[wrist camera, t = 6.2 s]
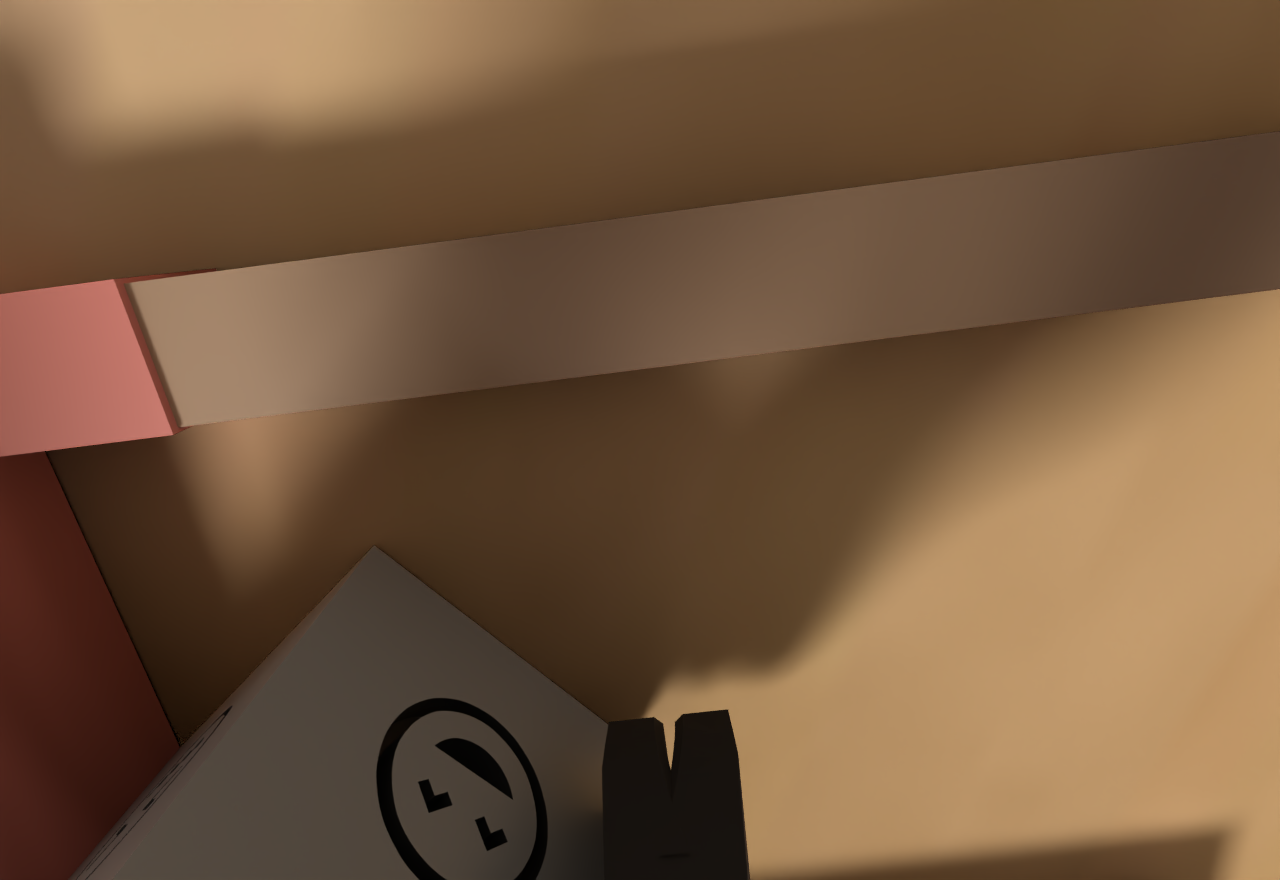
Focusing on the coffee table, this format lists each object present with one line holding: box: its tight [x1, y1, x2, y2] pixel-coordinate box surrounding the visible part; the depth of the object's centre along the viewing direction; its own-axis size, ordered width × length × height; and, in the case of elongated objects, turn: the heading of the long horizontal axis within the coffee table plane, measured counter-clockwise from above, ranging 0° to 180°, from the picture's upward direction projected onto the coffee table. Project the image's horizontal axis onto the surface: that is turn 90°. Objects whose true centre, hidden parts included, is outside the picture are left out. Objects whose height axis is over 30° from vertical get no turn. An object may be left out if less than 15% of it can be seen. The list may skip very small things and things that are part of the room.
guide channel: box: [0, 131, 1280, 880], centre depth 8 cm, size 18×14×3 cm
